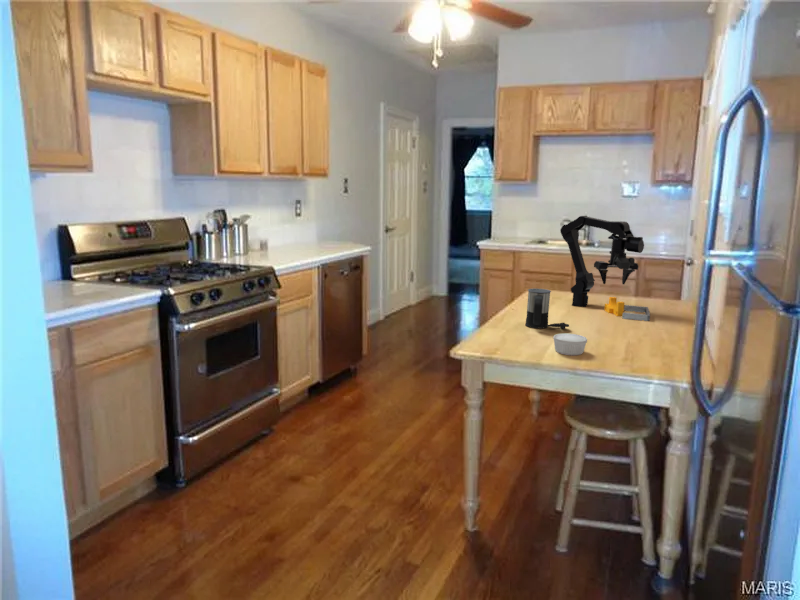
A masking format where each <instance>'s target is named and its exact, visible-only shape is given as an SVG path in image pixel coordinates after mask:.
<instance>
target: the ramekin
mask: <svg viewBox="0 0 800 600" xmlns="http://www.w3.org/2000/svg"><path fill="white" fill-rule="evenodd" d="M552 339H553V343H554V350H555V352H557V353H558V354H561V355H566V356H580V355H582V354H583V353H584V352H585V348H586V344H587V343H588V338H587V337H585V336H583V335H580V334H575V333H557V334H554V335H553V338H552Z"/></svg>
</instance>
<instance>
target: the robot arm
mask: <svg viewBox="0 0 800 600" xmlns="http://www.w3.org/2000/svg"><path fill="white" fill-rule="evenodd" d="M585 226H589V227H592V228H596V229H597V228H598V229H600V230H601V229H602V230H605V231H607V232H609V233H611V235H609V236H608V237H607V239H608V240H612V242H611V250H609V254H610V259H608V262H606V261H602V260H595V262H594V263H593V268H595V269H596V270H598V273H599V275H600V278H601V280H602V284H603V285H606V283H607V275H608V274H607V273H608V272H609V269H608V268H618V269H620V270H622V277H621V278H622V279H621V283H622V285H625V284H626V282H627V280H628V278H629V276H630V275H631V274H632V273H633V272H636V271H638V270H639V264H638V263H637V262H635V258H634V257H627V252H630V253H636V254H637V253H639V254H641V253H642V252H643V251H644V249H645V242H644V240H643V236H634V234H633V232H632V230H631V229H630V228H631V227H630V224H629V223H628V222H627V221H615V220H614V221H613V220H612V221H610V220H604V219H601V218H596V217H591V216H587V215H579V216H578V217H577V218H576V219H574V220H572V221H570V222H568V223H567V224H566V223H565V224H564V225H562V226H561V228H560V235H561V236H562V239H563V240H564V241H565V242H566V244H567V246H568V250H569V253H570V256H571V259H572V263H573V266H574V269H575V273H576V274H575V278H574V279H575V284H574V285H573V286H571V287H570V292H571V293H572V303H571V306H573V307H582V306H583V307H585V308H586V307H587V306H588V304H589V303H588V302H589V295H588V293H590V291H591V289H592V288H594V285H595V279H594V273H593V272H589V271H588V269H587V267H586V264H585V261H584V256H583V253H582V251H581V246H580V244H579V237H580V231H581V230H582V229H583V228H584V227H585Z"/></svg>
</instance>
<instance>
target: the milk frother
mask: <svg viewBox="0 0 800 600" xmlns="http://www.w3.org/2000/svg"><path fill="white" fill-rule="evenodd" d="M527 291H528V292H527V293H528V294H527V306H526V318H525V326H526V327H528V328H534V329H547V328H548V327H552V328H560V329H561V330H565V329H566V328H568V327H570V324H568V323H566V322H559V323H558V322H557V323H550V324H549V310H550V300H551V299H550V298H551V293H552V291H551V290H549V289H545V288H537V287H536V288H529V289H527Z"/></svg>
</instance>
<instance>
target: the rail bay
mask: <svg viewBox="0 0 800 600" xmlns="http://www.w3.org/2000/svg"><path fill="white" fill-rule="evenodd" d="M649 309H650V308H649V307H648V306H642V305H641V306H639V305H631V304H630V305H629V304H628V305H627V304H624V310H625V311H626V312H625V311H624V313H623V315H622V317H621V318H622V319H624V320H632V319H633V321H635V320H636V321H642V320H644V322H650V320H651V313H650V310H649ZM633 311H635V312H633ZM631 312H633V313H631ZM643 312H645V313H643ZM641 313H643V314H641Z"/></svg>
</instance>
